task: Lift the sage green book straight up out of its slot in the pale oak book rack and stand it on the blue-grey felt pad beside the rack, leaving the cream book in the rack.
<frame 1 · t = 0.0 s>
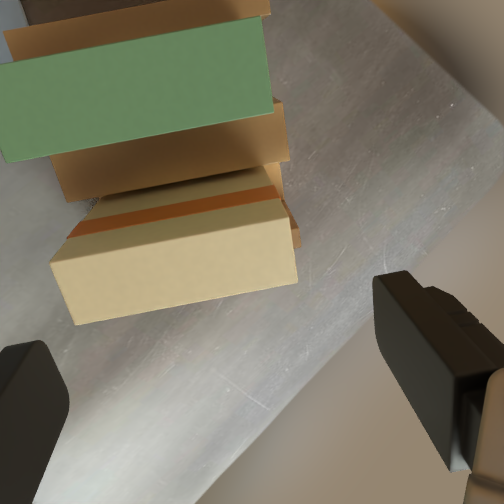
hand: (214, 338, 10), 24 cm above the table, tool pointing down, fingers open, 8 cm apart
cream book: (191, 189, 32), point 1 cm above the table, touching book rack
book rack: (179, 135, 31), on the table
green book: (164, 78, 29), point 1 cm above the table, touching book rack
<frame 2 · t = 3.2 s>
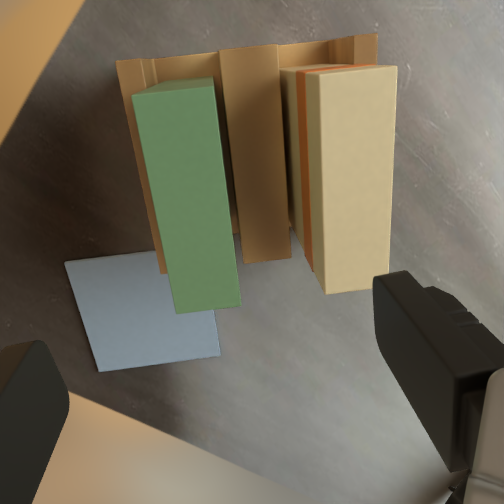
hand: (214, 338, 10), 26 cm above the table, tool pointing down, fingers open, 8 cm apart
cream book: (301, 142, 33), point 1 cm above the table, touching book rack
felt pad: (148, 310, 39), on the table
book rack: (250, 145, 34), on the table
green book: (200, 154, 33), point 1 cm above the table, touching book rack
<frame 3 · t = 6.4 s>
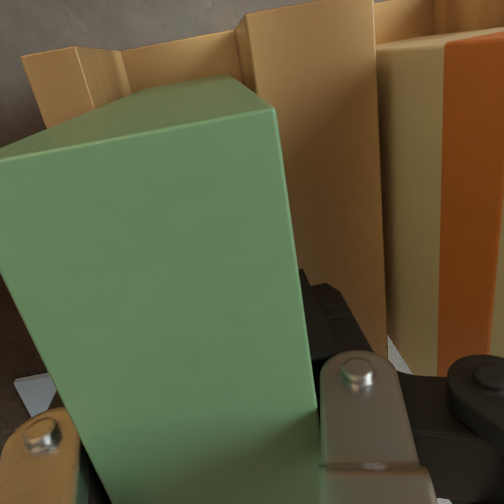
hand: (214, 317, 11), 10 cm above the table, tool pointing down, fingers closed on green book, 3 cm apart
cream book: (383, 174, 19), point 1 cm above the table, touching book rack
felt pad: (149, 433, 26), on the table
book rack: (294, 185, 20), on the table
green book: (213, 207, 19), point 1 cm above the table, touching book rack, gripper
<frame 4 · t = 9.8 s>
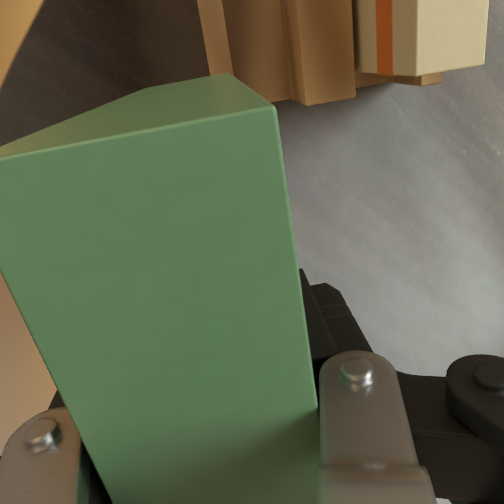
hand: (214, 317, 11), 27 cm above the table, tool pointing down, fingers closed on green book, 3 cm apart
green book: (214, 206, 19), point 18 cm above the table, touching gripper
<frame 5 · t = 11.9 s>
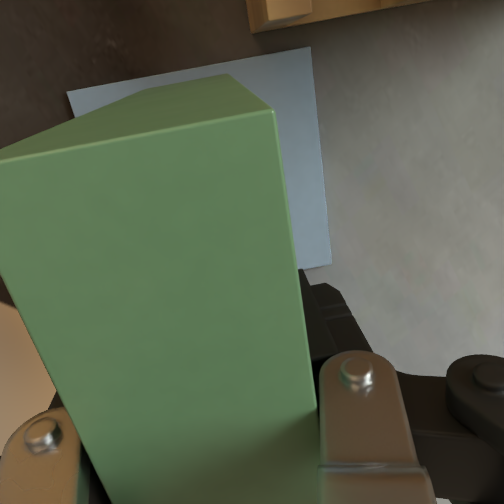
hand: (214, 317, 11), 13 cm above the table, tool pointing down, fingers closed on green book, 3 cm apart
felt pad: (214, 185, 23), on the table
green book: (214, 207, 19), point 4 cm above the table, touching gripper
when the fingers open (10 cm above the table, at t = 13.3 s): green book stays where it is, resting on felt pad.
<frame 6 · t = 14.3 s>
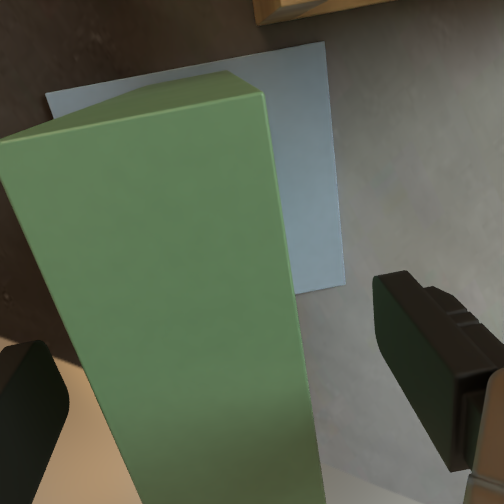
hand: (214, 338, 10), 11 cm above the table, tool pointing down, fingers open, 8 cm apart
felt pad: (214, 198, 21), on the table
green book: (214, 199, 20), resting on felt pad
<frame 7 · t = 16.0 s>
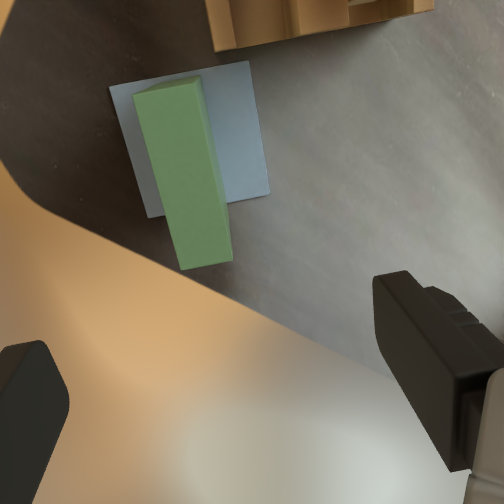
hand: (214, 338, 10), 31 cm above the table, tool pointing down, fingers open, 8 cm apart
felt pad: (195, 143, 38), on the table
green book: (194, 143, 38), resting on felt pad
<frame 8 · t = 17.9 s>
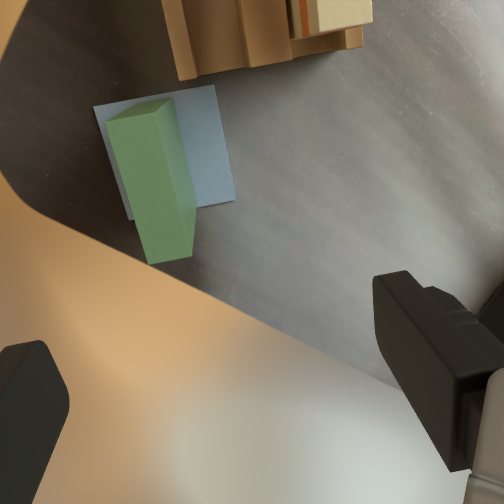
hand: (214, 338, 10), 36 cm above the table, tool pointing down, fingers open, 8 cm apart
felt pad: (169, 155, 44), on the table
green book: (168, 155, 43), resting on felt pad
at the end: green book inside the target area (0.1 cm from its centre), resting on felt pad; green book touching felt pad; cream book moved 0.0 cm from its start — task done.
